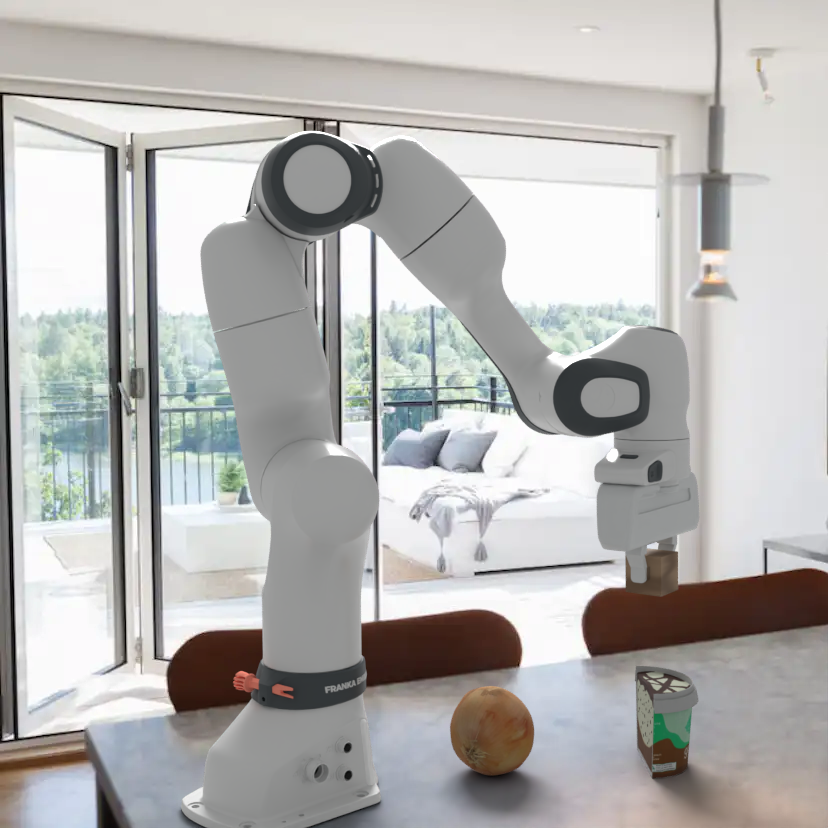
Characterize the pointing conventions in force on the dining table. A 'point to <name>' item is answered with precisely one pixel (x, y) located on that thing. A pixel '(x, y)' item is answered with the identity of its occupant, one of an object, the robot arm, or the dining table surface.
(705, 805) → the dining table surface
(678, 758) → the food container
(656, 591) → the walnut block
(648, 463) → the robot arm
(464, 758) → the onion
